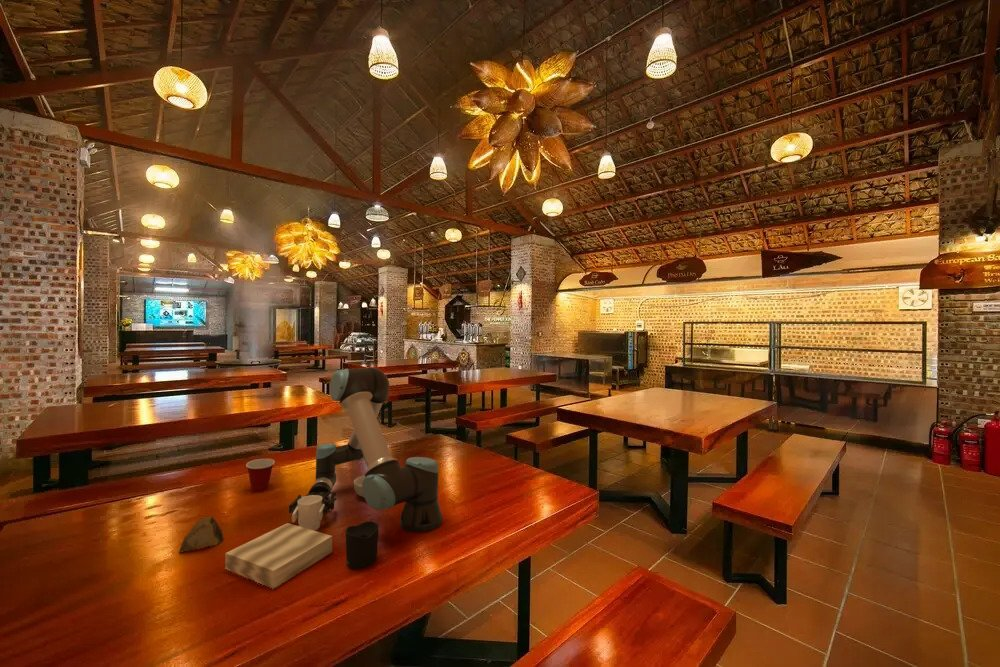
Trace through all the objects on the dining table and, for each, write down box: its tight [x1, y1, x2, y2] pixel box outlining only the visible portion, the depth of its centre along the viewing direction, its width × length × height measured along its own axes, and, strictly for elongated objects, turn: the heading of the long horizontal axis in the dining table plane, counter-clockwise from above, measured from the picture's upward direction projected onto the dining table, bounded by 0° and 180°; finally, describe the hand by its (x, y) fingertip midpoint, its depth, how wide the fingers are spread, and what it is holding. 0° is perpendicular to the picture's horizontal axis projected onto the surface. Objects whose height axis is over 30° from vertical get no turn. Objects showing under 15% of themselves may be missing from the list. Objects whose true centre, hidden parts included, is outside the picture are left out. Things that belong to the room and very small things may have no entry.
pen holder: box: [345, 520, 380, 570], centre depth 119 cm, size 9×9×10 cm
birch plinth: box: [224, 522, 333, 590], centre depth 118 cm, size 20×20×5 cm
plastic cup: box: [245, 458, 276, 493], centre depth 171 cm, size 11×11×12 cm
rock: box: [179, 516, 225, 553], centre depth 126 cm, size 11×9×10 cm
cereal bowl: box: [353, 474, 366, 498], centre depth 167 cm, size 17×17×7 cm
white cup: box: [297, 495, 322, 531], centre depth 138 cm, size 8×8×10 cm
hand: (306, 517), depth 134 cm, fingers closed on white cup, 8 cm apart
